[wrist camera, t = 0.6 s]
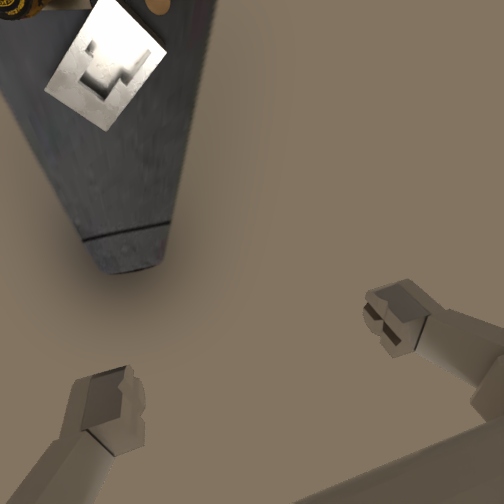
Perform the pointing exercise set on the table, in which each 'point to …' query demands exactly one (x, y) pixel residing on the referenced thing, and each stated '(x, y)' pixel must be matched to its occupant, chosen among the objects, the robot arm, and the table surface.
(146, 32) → the keyhole plate
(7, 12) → the condiment
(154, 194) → the table surface
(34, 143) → the table surface
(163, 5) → the peg
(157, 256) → the table surface
